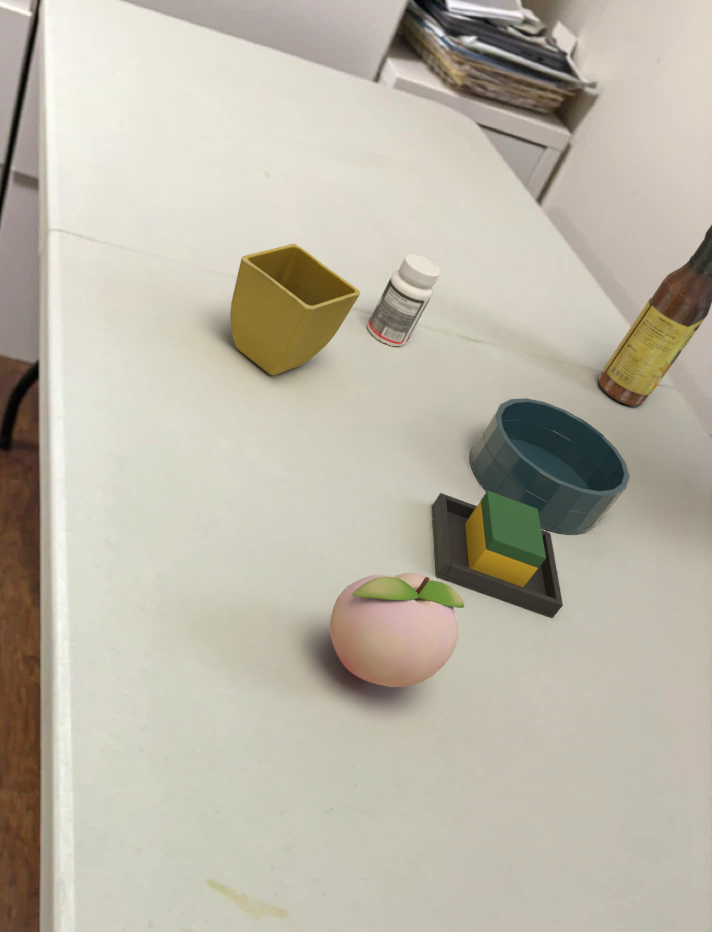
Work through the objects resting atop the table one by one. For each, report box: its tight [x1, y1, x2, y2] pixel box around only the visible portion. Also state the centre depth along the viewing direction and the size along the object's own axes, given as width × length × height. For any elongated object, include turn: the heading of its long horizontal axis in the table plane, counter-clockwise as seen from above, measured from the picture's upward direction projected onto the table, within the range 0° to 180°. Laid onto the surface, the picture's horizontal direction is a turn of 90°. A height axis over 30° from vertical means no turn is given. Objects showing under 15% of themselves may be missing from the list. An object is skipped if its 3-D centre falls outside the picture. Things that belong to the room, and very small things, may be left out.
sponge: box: [465, 491, 546, 587], centre depth 96 cm, size 5×7×4 cm
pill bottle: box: [367, 253, 441, 347], centre depth 116 cm, size 5×5×8 cm
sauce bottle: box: [598, 224, 712, 407], centre depth 122 cm, size 7×6×20 cm
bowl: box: [469, 397, 630, 536], centre depth 107 cm, size 14×14×5 cm
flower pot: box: [229, 243, 361, 376], centre depth 104 cm, size 9×9×9 cm
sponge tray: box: [431, 492, 564, 619], centre depth 97 cm, size 11×10×2 cm
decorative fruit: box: [329, 572, 465, 688], centre depth 78 cm, size 9×8×10 cm
